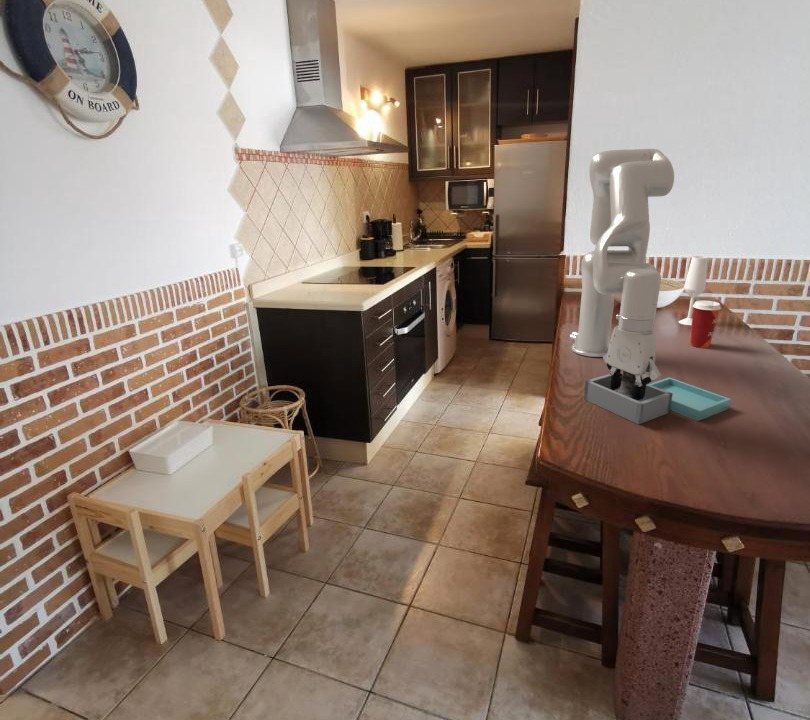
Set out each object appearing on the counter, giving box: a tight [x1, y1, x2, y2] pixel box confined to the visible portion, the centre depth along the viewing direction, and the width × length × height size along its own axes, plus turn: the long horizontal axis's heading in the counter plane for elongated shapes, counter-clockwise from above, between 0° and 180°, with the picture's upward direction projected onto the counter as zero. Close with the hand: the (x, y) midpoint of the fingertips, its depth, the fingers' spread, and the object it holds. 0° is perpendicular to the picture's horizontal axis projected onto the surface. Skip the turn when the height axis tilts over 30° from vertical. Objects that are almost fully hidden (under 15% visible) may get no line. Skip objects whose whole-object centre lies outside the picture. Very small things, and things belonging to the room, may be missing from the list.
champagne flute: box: [678, 255, 709, 326], centre depth 179 cm, size 7×7×24 cm
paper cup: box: [689, 300, 722, 349], centre depth 158 cm, size 8×8×14 cm
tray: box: [649, 377, 732, 422], centre depth 122 cm, size 16×12×2 cm
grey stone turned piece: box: [614, 371, 636, 399], centre depth 120 cm, size 6×6×12 cm
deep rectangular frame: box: [583, 373, 673, 425], centre depth 121 cm, size 16×11×5 cm
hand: (626, 393), depth 121 cm, fingers closed on grey stone turned piece, 5 cm apart
